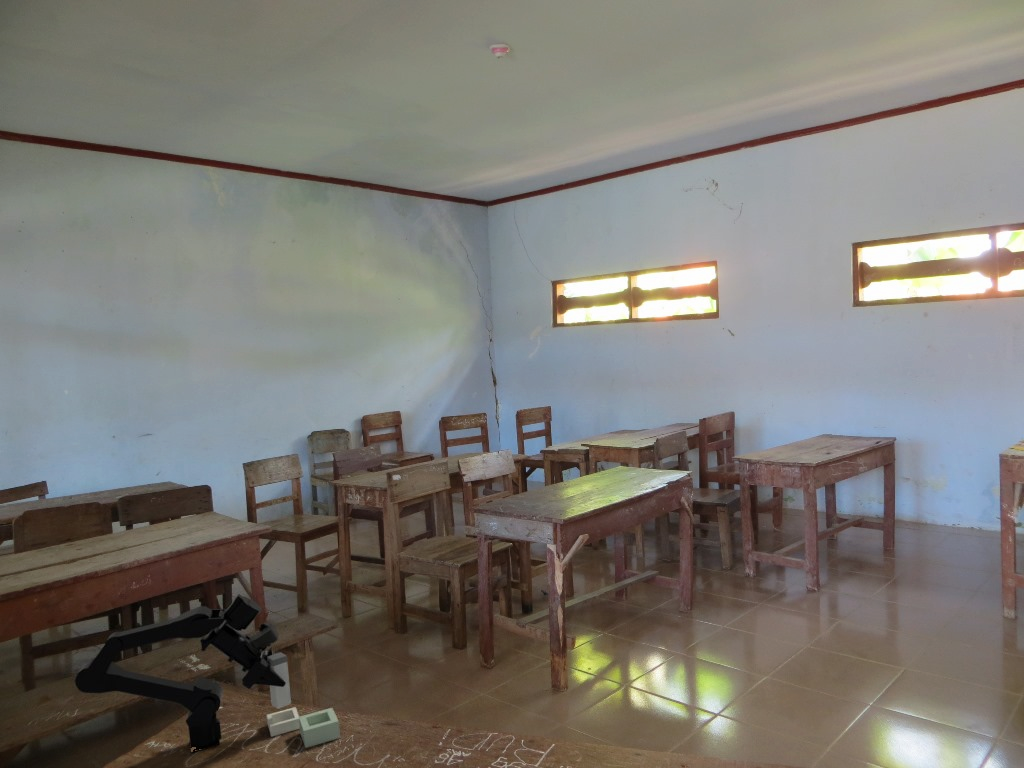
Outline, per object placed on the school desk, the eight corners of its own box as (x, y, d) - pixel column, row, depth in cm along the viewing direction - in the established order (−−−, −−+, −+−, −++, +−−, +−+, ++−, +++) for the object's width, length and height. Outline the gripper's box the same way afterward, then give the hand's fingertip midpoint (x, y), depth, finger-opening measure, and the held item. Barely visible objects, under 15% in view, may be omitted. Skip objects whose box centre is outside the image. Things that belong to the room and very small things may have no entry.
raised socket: (305, 748, 170) (303, 731, 170) (300, 733, 178) (298, 717, 177) (340, 737, 174) (338, 721, 174) (333, 723, 181) (332, 707, 181)
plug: (277, 709, 179) (272, 660, 179) (271, 704, 182) (267, 656, 181) (291, 703, 181) (286, 655, 181) (285, 699, 184) (280, 652, 184)
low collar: (270, 736, 177) (269, 726, 177) (267, 724, 184) (266, 714, 184) (300, 728, 180) (299, 718, 180) (296, 716, 186) (295, 707, 186)
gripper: (252, 630, 171) (306, 668, 174) (259, 605, 189) (307, 640, 192) (219, 670, 169) (274, 707, 172) (229, 641, 187) (278, 676, 190)
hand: (285, 680), depth 182 cm, fingers closed on plug, 5 cm apart
